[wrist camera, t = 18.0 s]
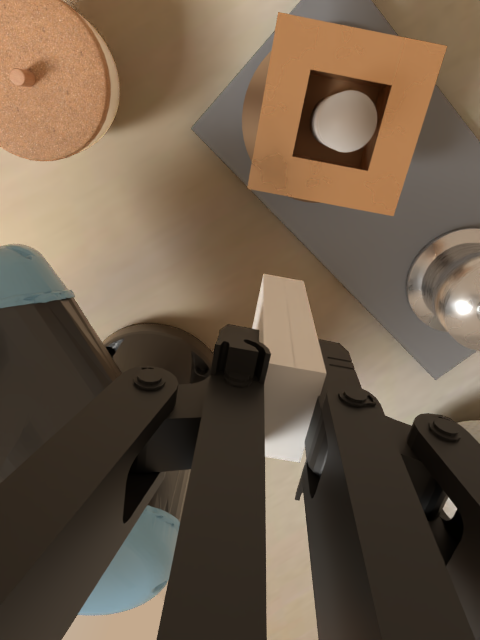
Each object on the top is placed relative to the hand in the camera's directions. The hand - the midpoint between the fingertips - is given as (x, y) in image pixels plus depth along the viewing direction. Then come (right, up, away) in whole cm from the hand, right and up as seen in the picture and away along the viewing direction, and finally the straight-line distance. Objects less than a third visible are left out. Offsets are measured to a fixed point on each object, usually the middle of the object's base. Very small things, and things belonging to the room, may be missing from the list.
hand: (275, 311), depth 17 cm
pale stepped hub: (+19, +3, +25) cm, 32 cm away
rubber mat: (+12, +10, +24) cm, 29 cm away
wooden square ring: (+5, +13, +14) cm, 20 cm away
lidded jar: (-15, +19, +21) cm, 33 cm away
